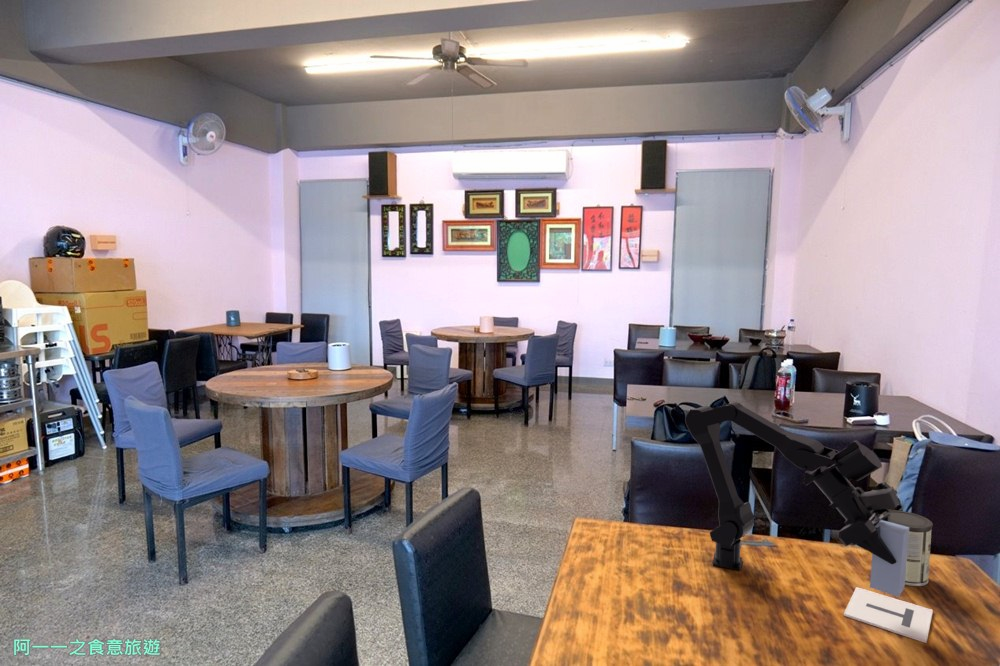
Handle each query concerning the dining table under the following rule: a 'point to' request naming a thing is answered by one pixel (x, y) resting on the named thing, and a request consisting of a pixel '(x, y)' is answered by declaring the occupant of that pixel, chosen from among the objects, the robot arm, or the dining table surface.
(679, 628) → the dining table surface
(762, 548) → the dining table surface
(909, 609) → the letter tile
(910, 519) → the coffee can
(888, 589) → the slate blue block
